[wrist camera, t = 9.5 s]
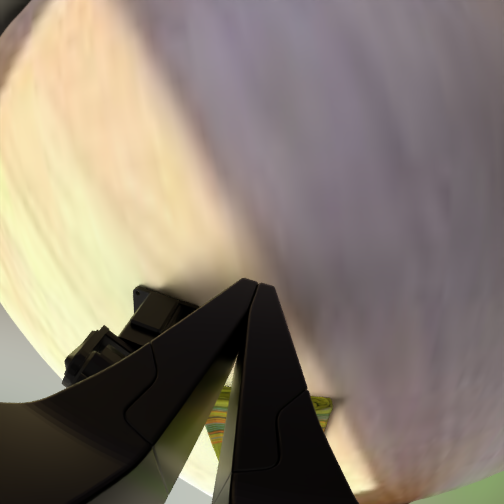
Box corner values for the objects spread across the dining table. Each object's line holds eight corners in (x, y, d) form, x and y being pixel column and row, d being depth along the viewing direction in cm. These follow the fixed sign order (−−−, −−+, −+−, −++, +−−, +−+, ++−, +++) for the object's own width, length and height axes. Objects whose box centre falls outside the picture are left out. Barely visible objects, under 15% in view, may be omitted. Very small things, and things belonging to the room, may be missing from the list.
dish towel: (334, 391, 30) (333, 415, 27) (304, 486, 47) (302, 500, 44) (196, 377, 33) (187, 398, 30) (228, 477, 49) (225, 490, 47)
